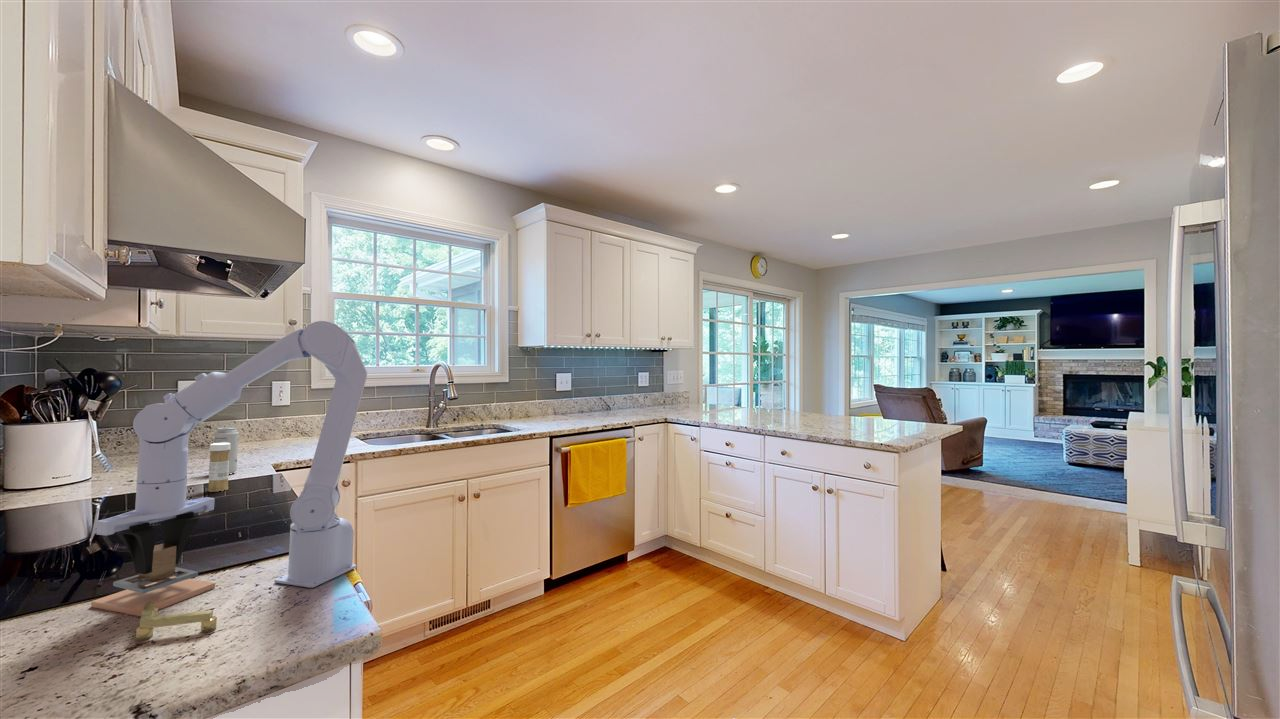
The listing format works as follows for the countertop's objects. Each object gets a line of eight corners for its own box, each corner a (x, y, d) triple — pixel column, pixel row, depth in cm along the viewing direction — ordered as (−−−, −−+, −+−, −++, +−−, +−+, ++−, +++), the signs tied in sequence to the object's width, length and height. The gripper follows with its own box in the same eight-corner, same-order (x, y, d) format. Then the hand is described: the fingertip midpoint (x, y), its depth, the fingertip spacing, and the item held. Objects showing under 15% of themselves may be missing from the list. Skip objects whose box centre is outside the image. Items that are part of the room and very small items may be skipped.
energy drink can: (240, 473, 166) (242, 428, 166) (219, 476, 160) (221, 429, 160) (230, 471, 168) (232, 426, 168) (208, 474, 163) (211, 428, 163)
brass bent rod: (154, 615, 72) (155, 598, 72) (219, 627, 69) (220, 610, 69) (105, 634, 67) (107, 616, 67) (174, 648, 64) (175, 629, 64)
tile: (168, 580, 84) (168, 575, 84) (214, 587, 81) (215, 582, 82) (91, 606, 74) (91, 601, 74) (141, 616, 72) (141, 610, 72)
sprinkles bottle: (226, 488, 146) (229, 441, 147) (229, 490, 143) (232, 443, 143) (206, 490, 143) (208, 442, 143) (208, 493, 140) (211, 444, 140)
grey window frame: (169, 569, 82) (170, 537, 82) (197, 575, 80) (199, 543, 80) (113, 585, 76) (115, 551, 76) (143, 593, 73) (145, 558, 74)
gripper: (193, 469, 86) (189, 549, 86) (83, 488, 72) (77, 583, 72) (225, 472, 85) (221, 554, 84) (119, 492, 71) (113, 589, 70)
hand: (157, 568), depth 78 cm, fingers closed on grey window frame, 3 cm apart
